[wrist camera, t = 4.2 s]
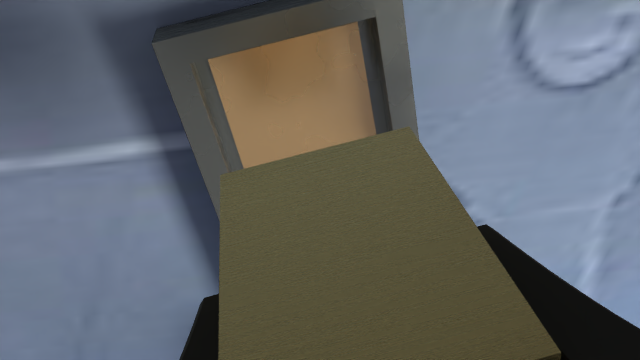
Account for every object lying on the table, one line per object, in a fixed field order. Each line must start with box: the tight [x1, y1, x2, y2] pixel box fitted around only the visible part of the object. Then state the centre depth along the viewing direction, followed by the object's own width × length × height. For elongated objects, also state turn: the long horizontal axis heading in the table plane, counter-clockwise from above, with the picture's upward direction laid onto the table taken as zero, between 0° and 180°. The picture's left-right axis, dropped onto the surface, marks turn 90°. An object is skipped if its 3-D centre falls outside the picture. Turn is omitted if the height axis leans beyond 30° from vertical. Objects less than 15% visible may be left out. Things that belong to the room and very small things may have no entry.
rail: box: [152, 0, 419, 221], centre depth 21 cm, size 19×7×1 cm, turn 12°
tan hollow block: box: [218, 126, 561, 360], centre depth 10 cm, size 4×4×6 cm
